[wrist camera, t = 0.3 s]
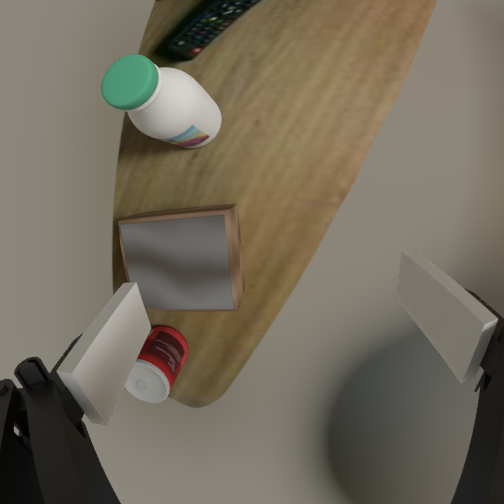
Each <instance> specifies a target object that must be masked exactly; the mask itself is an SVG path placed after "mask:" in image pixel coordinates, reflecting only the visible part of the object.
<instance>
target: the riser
mask: <svg viewBox="0 0 504 504" xmlns="http://www.w3.org/2000/svg"><path fill="white" fill-rule="evenodd" d="M118 225H119V232H120V237H119V238H120V244H121V250H122V256H123V261H124V267H125V272H126V277H127V282H128V283H131V282H137V286H138V289H139V292H140V295H141V298H142V302H143V305H144V308H145V311H180V312H207V311H238V310H239V306H240V303H241V299H242V296H243V292H244V289H245V285H244V273H243V262H242V250H241V239H240V227H239V215H238V204H230V205H217V206H206V207H195V208H184V209H174V210H165V211H156V212H147V213H142V214H138V215H135V216H132V217H129V218H126V219H122V220H119V221H118Z"/></svg>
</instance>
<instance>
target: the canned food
mask: <svg viewBox="0 0 504 504" xmlns="http://www.w3.org/2000/svg"><path fill="white" fill-rule="evenodd" d="M187 353H188V346H187V342H186V340H185V338H184V337H183V335H182V334H181V333H180V332H179V331H177V330H176V329H174V328H172V327H169V326H157V327H155V328H153V329H151V330H150V332H149V334H148V336H147V338H146V340H145V342H144V344H143V347H142V349H141V351H140V353H139V355H138V357H137V359H136V361H135V364H134V366H133V368H132V370H131V372H130V374H129V377H128V379H127V381H126V383H125V385H124V387H125V388H126V389H127V390H128V391H129V392H130V393H131V394H132V395H133V396H135V397H137V398H138V399H140V400H142V401H145V402H148V403H158V402H161V401H163V400H165V399H166V397H167V396H168V394H169V392H170V390H171V388H172V386H173V384H174V382H175V380H176V378H177V376H178V374H179V372H180V369H181V367H182V365H183V363H184V361H185V359H186V357H187Z"/></svg>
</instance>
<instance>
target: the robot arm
mask: <svg viewBox="0 0 504 504" xmlns="http://www.w3.org/2000/svg"><path fill="white" fill-rule="evenodd" d="M397 300H398V302H399V303H400V304H401V305H402V306H403V308H404V309H405V310H406V311H407V313H408V314H409V315H410V316H411V318H412V319H413V320H414V321H415V323H416V324H417V325H418V326H419V328H420V329H421V330H422V331H423V333H424V334H425V335H426V336H427V338H428V339H429V340H430V342H431V343H432V344H433V346H434V347H435V348H436V350H437V351H438V352H439V354H440V355H441V356H442V358H443V359H444V361H445V362H446V363H447V365H448V366H449V367H450V369H451V370H452V371H453V373H454V374H455V376H456V377H457V379H458V380H459V382H460V383H463V382H465V381H468V380H470V379H472V378H474V377H475V375H476V373H477V371H478V369H479V367H480V366H481V367H482V368H483V370H484V372H483V374H482V376H481V379H480V381H479V383H478V385H477V387H476V389H475V392H477V390H478V388H479V387H480V393H479V400H478V407H477V413H476V419H475V423H474V428H473V433H472V438H471V442H470V446H469V450H468V454H467V457H466V461H465V464H464V468H463V471H462V474H461V477H460V480H459V483H458V486H457V489H456V491H455V494H454V497H453V499H452V502H451V504H504V318H502V317H501V316H500V315H499V314H498V313H497V312H496V311H495V310H493V309H492V308H491V307H490V306H489V305H487V303H486V302H484V301H483V300H481V298H480V297H479V296H477V295H476V294H475V293H473V292H471V291H469V290H467V289H465V288H463V287H461V286H460V285H459V284H458V283H457V282H455V281H454V280H453V279H451V278H450V277H449V276H448V275H446V274H445V273H444V272H443V271H442V270H440V269H439V268H438V267H436V266H435V265H434V264H433V263H431V262H430V261H429V260H427V259H426V258H425V257H423V256H422V255H421V254H419V253H418V252H417V251H415V250H406V251H402V252H401V263H400V274H399V284H398V292H397ZM150 330H151V325H150V322H149V319H148V317H147V314H146V311H145V308H144V305H143V302H142V298H141V295H140V292H139V289H138V286H137V282H131V283H123V284H122V286H121V287H120V288H119V289H118V290H117V292H116V293H115V294H114V295H113V296H112V298H111V299H110V300H109V301H108V303H107V304H106V305H105V307H104V308H103V309H102V310H101V311H100V313H99V314H98V315H97V316H96V318H95V319H94V320H93V322H92V323H91V324H90V326H89V327H88V328H87V330H86V331H85V332H84V333H83V334H81V335H80V336H79V337H77V338H76V339H75V340H74V341H73V342H72V343H71V345H70V346H69V347H68V350H66V352H65V353H64V356H62V357H61V358H60V360H59V361H58V362H57V364H56V365H55V366H54V368H53V369H52V371H51V372H50V374H49V372H48V371H47V369H46V367H45V366H44V364H43V362H42V361H41V359H40V358H38V357H30V358H27V359H25V360H24V361H22V362H21V363H20V364H19V365H18V366H17V367H16V369H15V372H14V374H15V376H16V377H17V379H18V380H19V382H20V383H21V385H22V386H23V388H18V389H17V387H16V386H15V384H14V383H13V381H12V380H10V379H4V380H1V381H0V504H121V503H120V501H119V500H118V498H117V496H116V494H115V492H114V490H113V488H112V486H111V484H110V483H109V480H108V478H107V476H106V474H105V472H104V470H103V468H102V466H101V463H100V461H99V459H98V456H97V454H96V452H95V449H94V447H93V444H92V442H91V439H90V437H89V434H88V431H87V428H86V426H85V424H84V422H83V421H82V420H81V419H82V417H83V415H84V413H85V415H86V416H87V417H88V418H89V420H90V421H91V422H92V423H97V424H102V425H108V423H109V420H110V418H111V415H112V413H113V411H114V408H115V406H116V404H117V401H118V399H119V397H120V394H121V392H122V390H123V388H124V385H125V383H126V381H127V379H128V377H129V374H130V372H131V370H132V368H133V366H134V364H135V361H136V359H137V357H138V355H139V353H140V351H141V349H142V347H143V344H144V342H145V340H146V338H147V336H148V334H149V332H150ZM14 426H15V427H16V428H17V429H18V430H19V435H18V436H17V435H16V434H15V433H14Z"/></svg>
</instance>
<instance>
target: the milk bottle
mask: <svg viewBox="0 0 504 504" xmlns="http://www.w3.org/2000/svg"><path fill="white" fill-rule="evenodd" d="M101 91H102V95H103V98H104V100H105V101H106V102H107V103H108V104H109V105H111V106H113V107H115V108H117V109H121V110H123V111H126V112H128V115H129V117H130V119H131V121H132V123H133V124H134V125H135V126H136V127H137V128H138V129H139V130H140V131H141V132H143V133H145V134H146V135H148V136H151V137H153V138H156V139H158V140H162V141H165V142H168V143H171V144H175V145H178V146H181V147H185V148H198V147H202V146H204V145H206V144H208V143H209V142H210V141H212V140H213V139H214V138H215V136H216V135H217V133H218V132H219V129H220V126H221V120H222V118H221V112H220V110H219V108H218V106H217V104H216V103H215V102H214V101H213V99H212V98H211V97H210V96H209V95H208V94H207V92H206V91H205V90H204V89H203V88H202V87H201V86H200V85H199V84H198V83H197V82H196V81H195V80H194V79H193V78H192V77H191V76H190V75H188V74H186V73H185V72H183V71H180V70H178V69H174V68H158V67H157V66H156V65H155V64H154V63H153V62H152V61H150V60H149V59H148V58H146V57H145V56H142V55H138V54H131V55H127V56H124V57H122V58H120V59H118V60H117V61H116V62H114V64H112V65H111V66H110V68H109V69H108V70H107V72H106V74H105V76H104V78H103V81H102V86H101Z"/></svg>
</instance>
